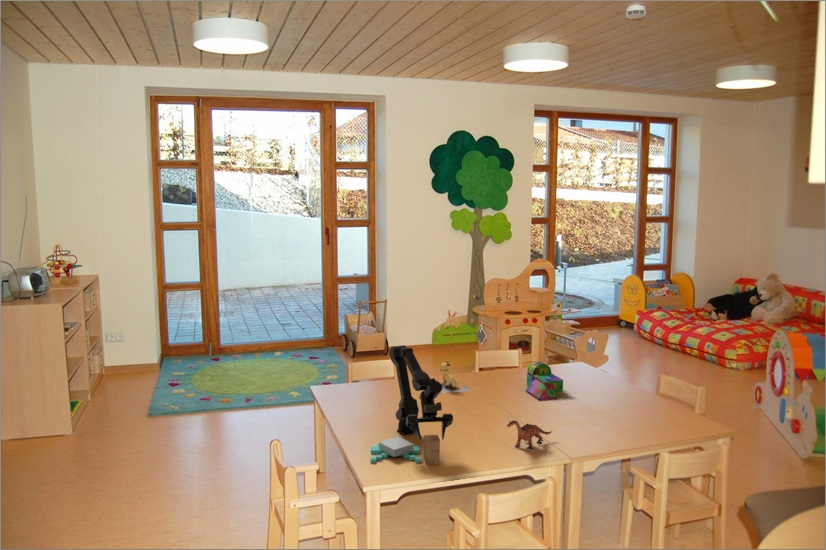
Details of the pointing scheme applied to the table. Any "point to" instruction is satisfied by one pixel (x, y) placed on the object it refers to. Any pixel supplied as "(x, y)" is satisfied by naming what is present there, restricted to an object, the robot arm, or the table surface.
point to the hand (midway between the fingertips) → (431, 439)
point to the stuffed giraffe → (449, 380)
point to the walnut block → (431, 449)
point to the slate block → (396, 446)
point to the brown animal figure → (528, 434)
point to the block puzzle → (543, 382)
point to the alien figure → (384, 455)
